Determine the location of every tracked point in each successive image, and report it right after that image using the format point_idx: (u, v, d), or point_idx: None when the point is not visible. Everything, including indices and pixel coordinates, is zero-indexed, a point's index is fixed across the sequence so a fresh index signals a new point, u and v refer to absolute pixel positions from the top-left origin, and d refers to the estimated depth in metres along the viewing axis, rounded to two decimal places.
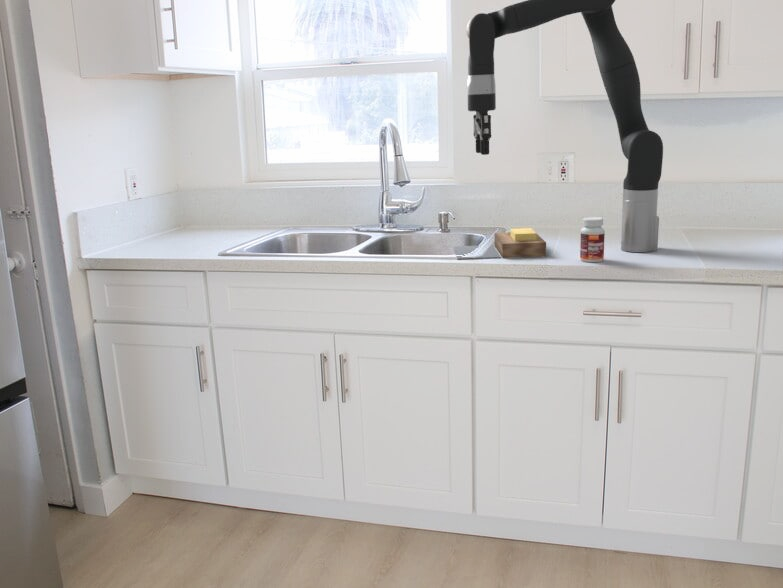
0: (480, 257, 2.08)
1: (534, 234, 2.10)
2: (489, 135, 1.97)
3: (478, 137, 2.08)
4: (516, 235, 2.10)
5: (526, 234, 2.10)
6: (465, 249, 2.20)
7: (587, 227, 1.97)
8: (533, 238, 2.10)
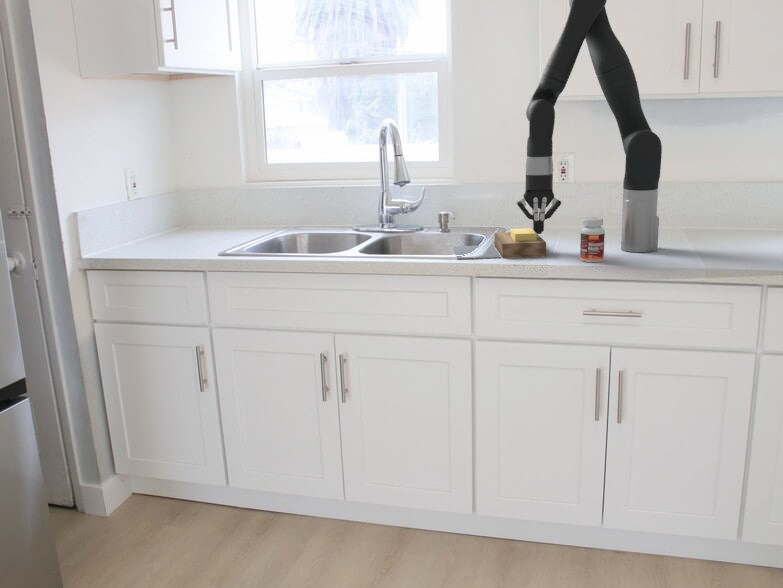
0: (480, 257, 2.08)
1: (534, 234, 2.10)
2: None
3: None
4: (516, 235, 2.10)
5: (526, 234, 2.10)
6: (465, 249, 2.20)
7: (587, 227, 1.97)
8: (533, 238, 2.10)
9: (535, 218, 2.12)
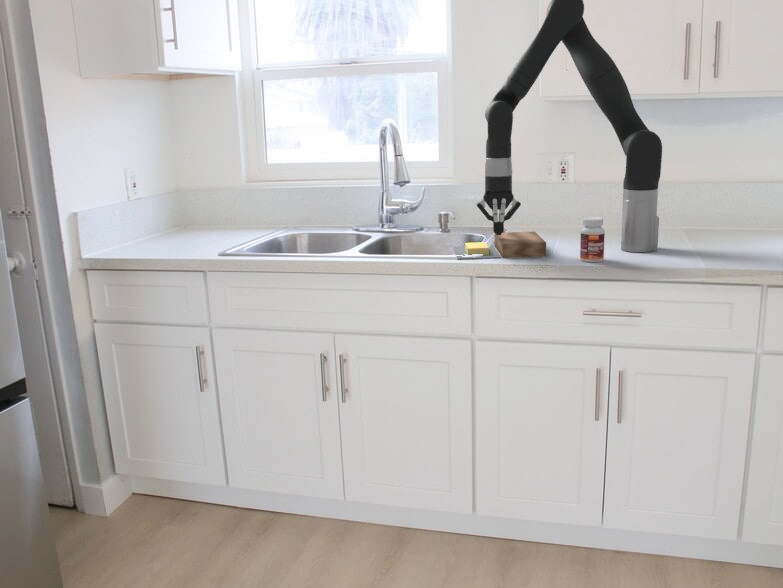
0: (480, 257, 2.08)
1: (469, 254, 2.11)
2: None
3: (497, 220, 2.13)
4: (487, 253, 2.11)
5: None
6: None
7: (587, 227, 1.97)
8: (470, 250, 2.11)
9: (495, 219, 2.12)
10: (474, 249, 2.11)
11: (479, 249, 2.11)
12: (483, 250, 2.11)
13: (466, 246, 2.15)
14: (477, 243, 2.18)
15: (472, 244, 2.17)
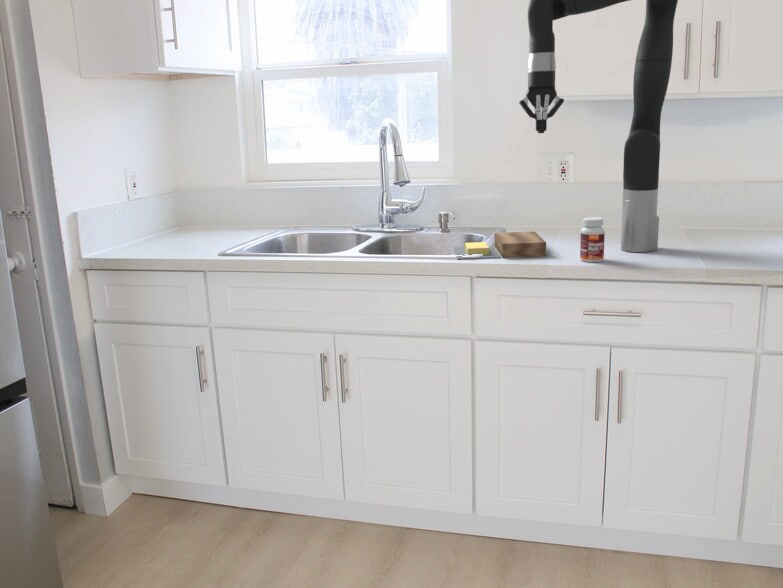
0: (480, 257, 2.08)
1: (469, 254, 2.11)
2: None
3: None
4: (487, 253, 2.11)
5: None
6: None
7: (587, 227, 1.97)
8: (470, 250, 2.11)
9: (538, 117, 2.12)
10: (474, 249, 2.11)
11: (479, 249, 2.11)
12: (483, 250, 2.11)
13: (466, 246, 2.15)
14: (477, 243, 2.18)
15: (472, 244, 2.17)
